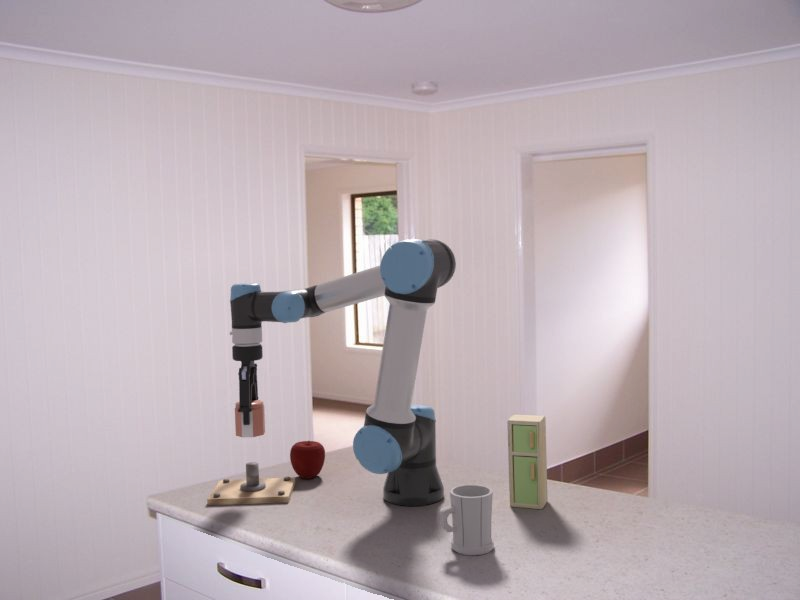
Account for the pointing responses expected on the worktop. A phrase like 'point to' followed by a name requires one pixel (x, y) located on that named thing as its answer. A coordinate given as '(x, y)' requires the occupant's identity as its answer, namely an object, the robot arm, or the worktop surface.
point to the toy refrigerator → (527, 461)
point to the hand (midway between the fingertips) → (250, 433)
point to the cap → (257, 419)
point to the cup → (469, 519)
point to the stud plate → (252, 489)
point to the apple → (307, 458)
